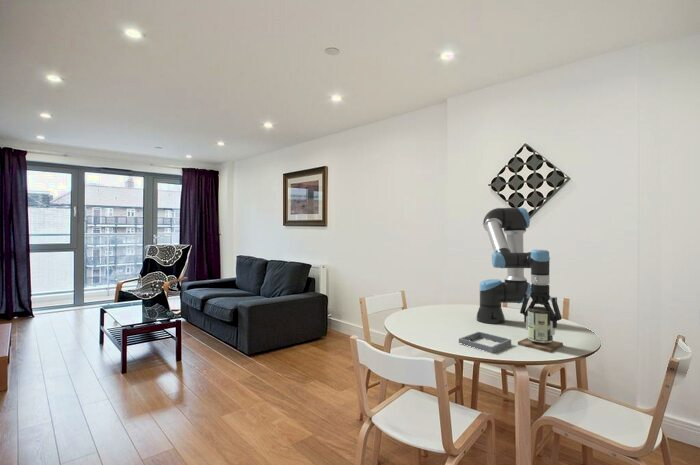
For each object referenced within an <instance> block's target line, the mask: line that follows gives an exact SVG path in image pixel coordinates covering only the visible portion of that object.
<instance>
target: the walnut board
mask: <svg viewBox="0 0 700 465" xmlns="http://www.w3.org/2000/svg"><path fill="white" fill-rule="evenodd" d="M517 345H518V346H523V347H526V348H529V349H535V350H539V351H543V352H547V353H552V352H553V351H554V352H555V350H557V349H559V348H561V347H563V346H564V342H560V341H556V340H553V341H552V342H549V343H541V342H535V341H532V340H529V339H528V337H526V338H523V339H520V340H519V341H517Z"/></svg>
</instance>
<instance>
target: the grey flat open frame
mask: <svg viewBox="0 0 700 465" xmlns="http://www.w3.org/2000/svg"><path fill="white" fill-rule="evenodd" d="M477 337H478V338H480V337H482V338H481V339H484V338H485V339H484V340H489V341H492V342H497V344H495V345H493V346H491V345H486V344H483V343H480V342H475V341H472V340H471V339H473V340H475V339H474V338H476V339H478V338H477ZM469 340H470V341H469ZM459 343H462V344H465V345H468V346H471V347H470V348H472V347H475V348H478V349H477V350H479V349H481V350H480V351H482V350H484V351H483V352H486V351H487V353H489V352H490V354H493V353H496V352H498V350H499V351H500V350H503V349H505V348H508V347H509V346H511V345H512V339H511V338H507V337H502V336H499V335H494V334H489V333H486V332H482V331H476V332H474V333H470V334H467V335H465V336H462V337H459V338H458V344H459ZM465 345H464V346H465ZM468 346H467V347H468ZM475 348H474V349H475Z"/></svg>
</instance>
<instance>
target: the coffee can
mask: <svg viewBox="0 0 700 465" xmlns="http://www.w3.org/2000/svg"><path fill="white" fill-rule="evenodd" d="M527 308H528V307H527ZM552 311H553V312H554V309H552ZM552 311H547V310H546V308H545V307H544V306H536V305H535V306H534V307H533V308H528V330H527V338H528V339H529V340H532V341H535V342H541V343H549V342H552V341H554V340H553V338H554V335H553V336H551V335H550V321H551V320H552V319H551V317H550V313H551V312H552Z"/></svg>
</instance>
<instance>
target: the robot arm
mask: <svg viewBox="0 0 700 465" xmlns="http://www.w3.org/2000/svg"><path fill="white" fill-rule="evenodd" d="M482 221H483V223H482V225H483V228H484V231H486V233H487V235H488V237H489V241H490V243H491V246H492V250H493V253H492V255H491V264H492V266H493V268H494V269H506V271H507V272H506V273H507V274H506V275H507V276H506V277H504V281H502V280H501V279H499V278H497V279H494V278H492V279H491V278H490V279H486V280H482V281H480V283H479V289H478V290H479V308H478V311H477V314H476V321H478V322H480V323H484V324H494V325H500V324H504V323H506V322H505V320H506V318H505V315H504V311H503V309H502V304H504V303H505V304H507V303H509V304H521V308H520V311H519V313H520V314H521V315H523V317H524V318H523V320H524V323H525V330H526V331H528V308H533V307H534V306H536V305H541V306H542V305H543V307H545V308H546V310H547V311H552V310H553V311H552V312H551V313H550V317H551V319H552V320H551V321H550V335H551V336H553V337H554V335H555V334H556V330H555V329H557V328H558V321H561V320H562V319H563V318H562V314H561V312H560V307H559V305H558V297H556V296H554V297H553V296H551V295H550V283H551V282H550V263H551V262H550V260H551V257H550V252H549V250H546V249H532V250H531V251H528V252H524V234H525V233H526V232H527V229H528V228H530V226H531V224H530V222H531V218H530V214H529V212H528V210H527V209H526V208H524V207H497V208H493V209H491V210H489V211H488V212H487V213H486V214H485V216H484V218H483V220H482ZM505 234H506V236H505ZM524 269H530V282H528V279H527V278H526V277H525V274H524V273H525V271H524ZM530 299H531V302H530V303H529V301H530ZM549 301H550V302H551V304H550V302H549ZM528 303H529V305H528ZM527 306H528V307H527Z"/></svg>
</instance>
